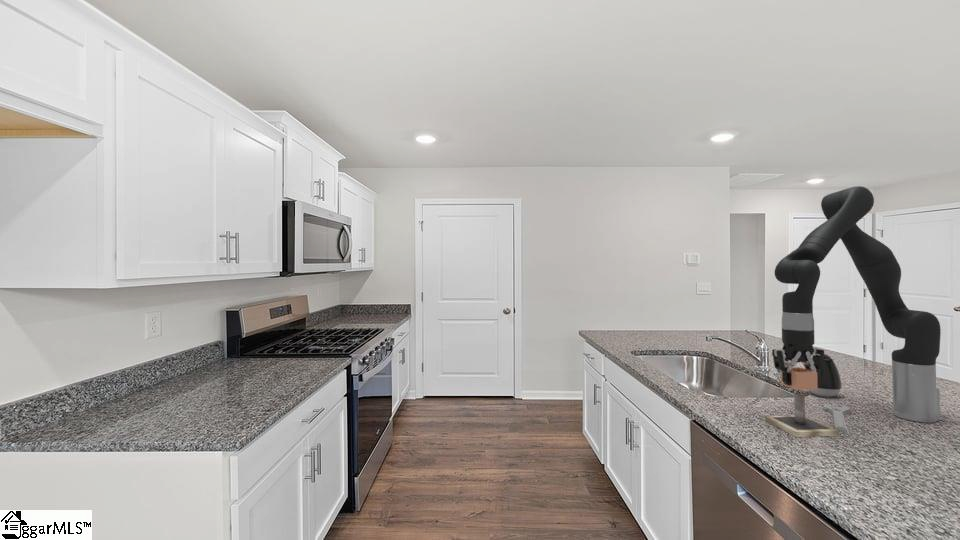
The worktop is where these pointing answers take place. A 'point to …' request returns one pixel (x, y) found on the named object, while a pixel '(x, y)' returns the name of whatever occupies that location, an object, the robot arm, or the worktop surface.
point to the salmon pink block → (802, 379)
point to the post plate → (802, 432)
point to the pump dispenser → (828, 379)
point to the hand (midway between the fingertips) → (798, 384)
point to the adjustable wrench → (838, 416)
